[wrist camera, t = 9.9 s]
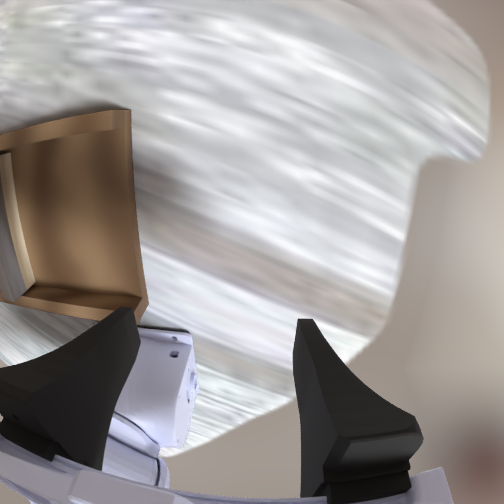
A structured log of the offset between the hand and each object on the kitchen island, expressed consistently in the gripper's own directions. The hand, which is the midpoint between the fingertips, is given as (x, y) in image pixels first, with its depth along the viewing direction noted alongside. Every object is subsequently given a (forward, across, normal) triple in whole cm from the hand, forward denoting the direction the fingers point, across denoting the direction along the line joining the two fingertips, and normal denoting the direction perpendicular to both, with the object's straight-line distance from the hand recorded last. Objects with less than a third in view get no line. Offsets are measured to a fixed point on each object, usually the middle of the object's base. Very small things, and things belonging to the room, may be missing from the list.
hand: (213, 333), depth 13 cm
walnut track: (+9, +21, -2) cm, 23 cm away
